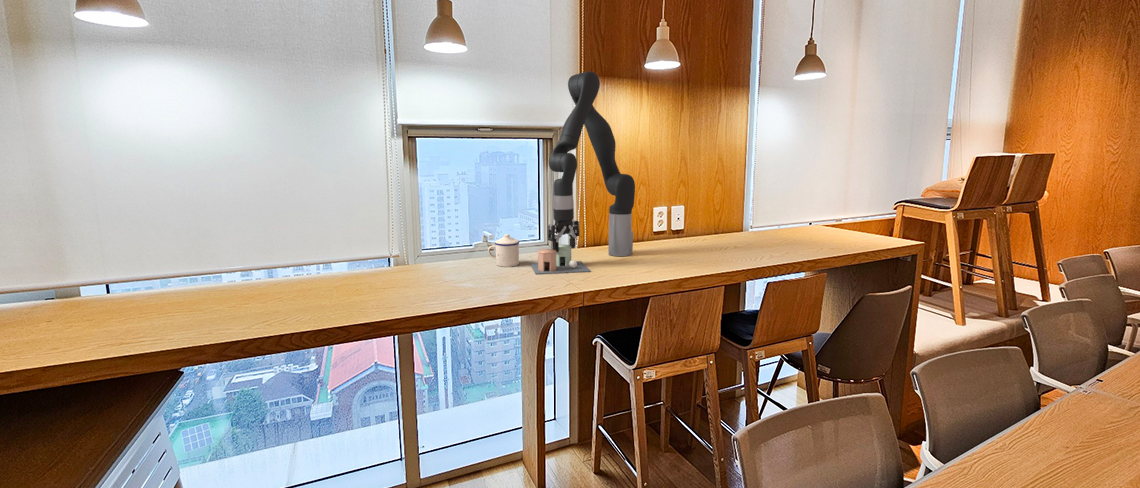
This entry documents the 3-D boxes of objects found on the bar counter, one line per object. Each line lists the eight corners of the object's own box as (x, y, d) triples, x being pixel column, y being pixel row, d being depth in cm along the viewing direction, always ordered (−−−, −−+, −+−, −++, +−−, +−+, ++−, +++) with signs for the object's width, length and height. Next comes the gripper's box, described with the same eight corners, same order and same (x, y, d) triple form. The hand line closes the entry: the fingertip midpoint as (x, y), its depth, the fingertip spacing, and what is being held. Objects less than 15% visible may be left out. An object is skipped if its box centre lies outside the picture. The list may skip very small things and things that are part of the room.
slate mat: (581, 262, 213) (581, 261, 213) (590, 271, 198) (590, 270, 198) (530, 264, 210) (530, 263, 210) (535, 274, 194) (535, 273, 194)
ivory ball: (573, 266, 204) (573, 259, 203) (578, 268, 201) (578, 260, 201) (567, 268, 202) (567, 260, 201) (572, 269, 200) (572, 261, 199)
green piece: (563, 261, 212) (563, 243, 211) (574, 264, 208) (574, 246, 207) (550, 264, 208) (550, 246, 207) (562, 267, 204) (562, 248, 202)
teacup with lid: (521, 262, 213) (520, 232, 211) (517, 267, 204) (516, 236, 202) (491, 261, 214) (490, 232, 212) (485, 266, 205) (484, 236, 203)
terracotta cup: (548, 266, 204) (548, 248, 203) (559, 269, 200) (559, 250, 198) (534, 269, 200) (534, 250, 199) (546, 272, 195) (546, 253, 194)
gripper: (569, 204, 211) (570, 245, 214) (542, 208, 201) (543, 251, 205) (584, 206, 206) (584, 248, 209) (556, 210, 196) (557, 254, 199)
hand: (564, 249), depth 207 cm, fingers open, 8 cm apart
